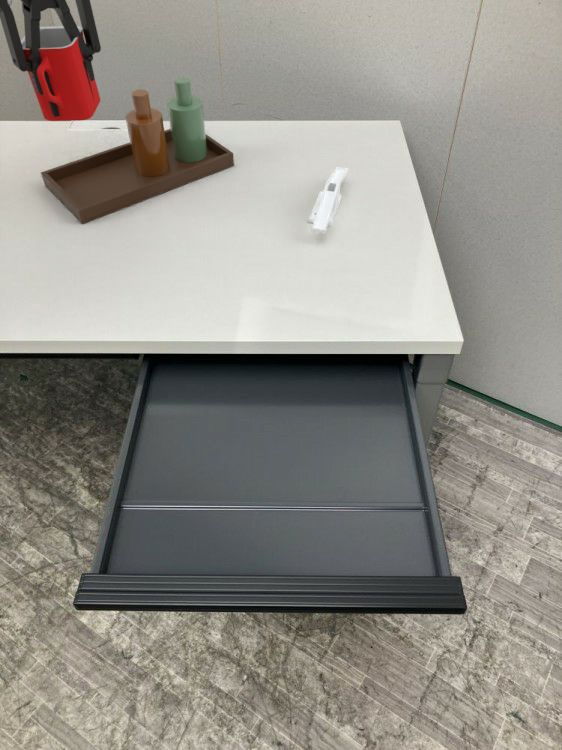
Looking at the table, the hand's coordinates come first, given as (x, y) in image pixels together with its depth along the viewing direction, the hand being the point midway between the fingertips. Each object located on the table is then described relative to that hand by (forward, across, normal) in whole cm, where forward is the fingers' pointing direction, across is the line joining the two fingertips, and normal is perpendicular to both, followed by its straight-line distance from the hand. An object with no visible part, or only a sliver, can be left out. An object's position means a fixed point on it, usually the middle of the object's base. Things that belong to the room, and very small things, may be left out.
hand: (71, 107), depth 93 cm
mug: (+1, -1, 0) cm, 1 cm away
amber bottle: (+16, +13, +3) cm, 21 cm away
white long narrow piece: (+17, +31, -26) cm, 44 cm away
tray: (+17, +11, +3) cm, 20 cm away
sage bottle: (+16, +22, +3) cm, 27 cm away
